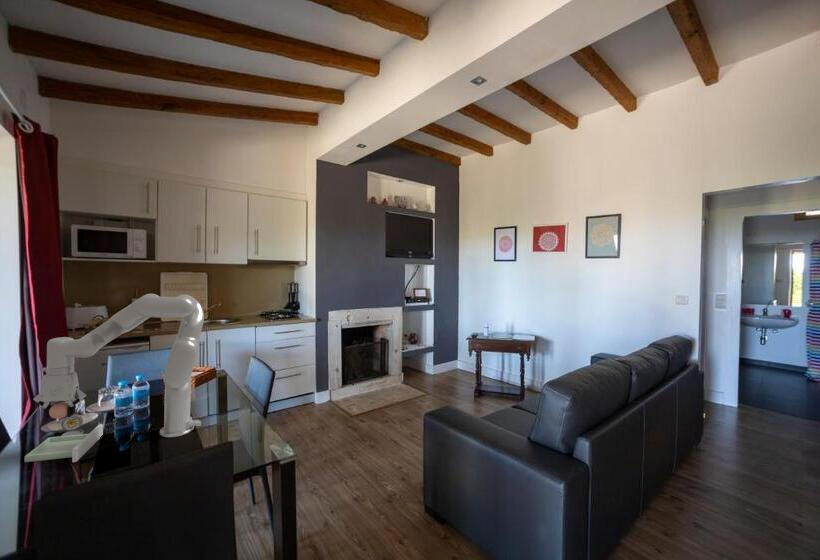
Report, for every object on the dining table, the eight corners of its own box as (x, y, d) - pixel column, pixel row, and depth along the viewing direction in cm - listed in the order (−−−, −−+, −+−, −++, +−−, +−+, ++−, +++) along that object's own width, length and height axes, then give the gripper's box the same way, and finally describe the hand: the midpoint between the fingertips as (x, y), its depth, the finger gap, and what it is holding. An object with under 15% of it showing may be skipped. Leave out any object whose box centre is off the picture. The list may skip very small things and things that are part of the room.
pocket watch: (69, 440, 143) (69, 416, 143) (53, 437, 145) (53, 413, 144) (91, 431, 151) (91, 408, 151) (76, 428, 153) (76, 405, 152)
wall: (102, 435, 148) (102, 424, 148) (76, 461, 130) (76, 448, 129) (99, 436, 148) (99, 424, 148) (72, 462, 129) (72, 449, 129)
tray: (92, 438, 146) (92, 433, 146) (73, 457, 132) (73, 451, 132) (48, 442, 141) (48, 437, 141) (24, 462, 128) (24, 456, 128)
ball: (65, 420, 134) (65, 405, 134) (44, 422, 132) (45, 406, 132) (74, 414, 140) (74, 399, 139) (54, 415, 138) (54, 400, 137)
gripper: (24, 374, 129) (23, 422, 129) (83, 372, 134) (82, 418, 135) (37, 368, 136) (37, 414, 136) (93, 366, 141) (92, 410, 142)
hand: (60, 415), depth 136 cm, fingers closed on ball, 5 cm apart
